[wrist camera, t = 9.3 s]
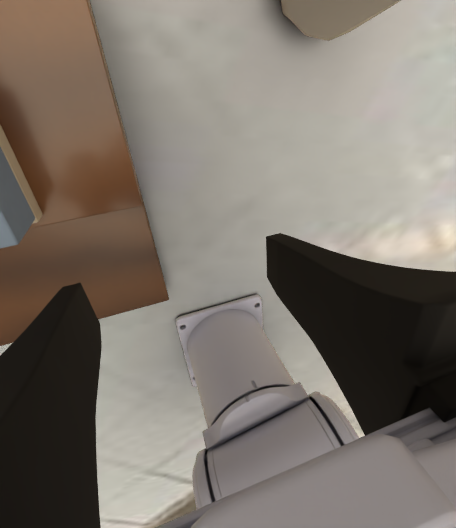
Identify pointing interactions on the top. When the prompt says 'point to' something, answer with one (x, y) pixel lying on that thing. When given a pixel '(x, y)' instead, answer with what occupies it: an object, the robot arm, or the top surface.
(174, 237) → the top surface
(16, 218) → the blue stepped block
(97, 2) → the top surface
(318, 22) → the salt shaker
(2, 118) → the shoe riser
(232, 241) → the top surface
